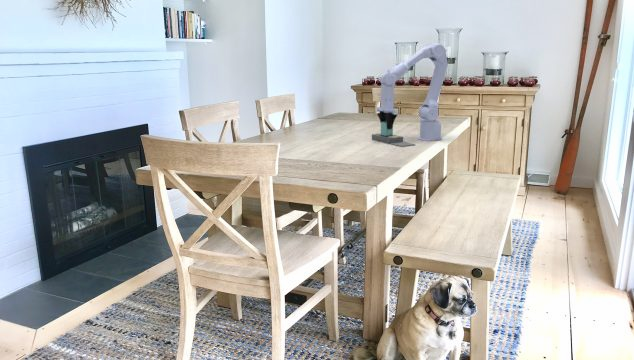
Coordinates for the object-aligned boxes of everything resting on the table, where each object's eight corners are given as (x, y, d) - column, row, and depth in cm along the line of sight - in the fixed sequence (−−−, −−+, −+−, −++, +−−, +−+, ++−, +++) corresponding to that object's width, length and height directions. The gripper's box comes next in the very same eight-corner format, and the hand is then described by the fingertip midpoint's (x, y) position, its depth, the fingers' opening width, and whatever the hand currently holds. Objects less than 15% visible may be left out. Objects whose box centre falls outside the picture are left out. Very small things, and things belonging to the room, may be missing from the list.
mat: (404, 142, 241) (404, 141, 241) (415, 145, 234) (415, 144, 234) (390, 144, 237) (390, 143, 237) (400, 146, 230) (400, 146, 230)
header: (385, 138, 254) (385, 132, 253) (403, 142, 242) (403, 136, 241) (371, 139, 250) (371, 133, 250) (388, 143, 238) (389, 137, 237)
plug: (387, 133, 248) (387, 119, 246) (392, 135, 244) (393, 120, 243) (380, 134, 246) (380, 120, 244) (385, 135, 242) (385, 121, 241)
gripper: (371, 98, 246) (370, 127, 249) (389, 100, 233) (388, 131, 236) (383, 97, 249) (383, 126, 252) (402, 99, 236) (401, 129, 240)
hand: (386, 128), depth 244 cm, fingers closed on plug, 4 cm apart
